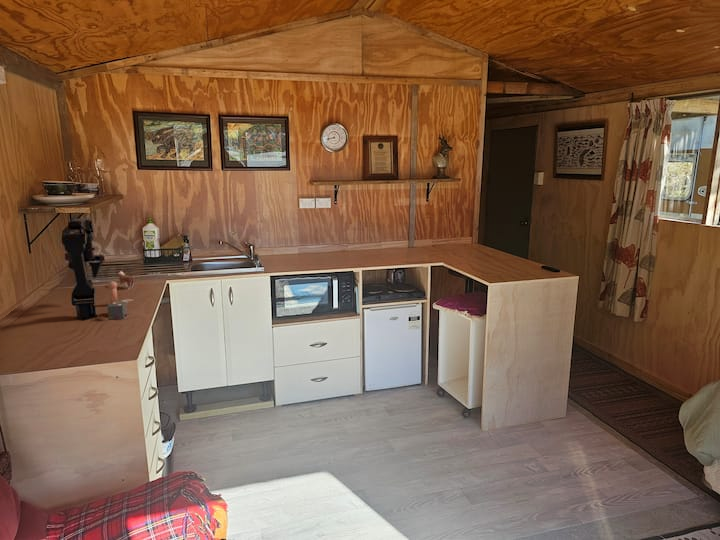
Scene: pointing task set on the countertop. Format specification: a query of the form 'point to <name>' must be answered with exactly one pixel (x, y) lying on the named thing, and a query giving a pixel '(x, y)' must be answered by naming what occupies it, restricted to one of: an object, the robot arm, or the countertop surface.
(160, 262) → the countertop surface
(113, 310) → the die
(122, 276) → the bull figurine
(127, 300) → the game board
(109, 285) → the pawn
